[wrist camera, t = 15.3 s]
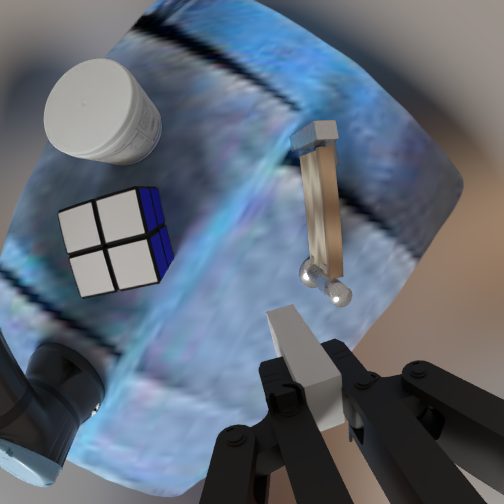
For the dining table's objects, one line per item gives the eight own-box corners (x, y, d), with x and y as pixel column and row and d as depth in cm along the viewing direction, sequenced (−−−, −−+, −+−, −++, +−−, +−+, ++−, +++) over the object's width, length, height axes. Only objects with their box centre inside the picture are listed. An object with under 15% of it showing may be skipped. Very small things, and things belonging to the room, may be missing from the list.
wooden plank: (319, 259, 39) (343, 276, 31) (308, 261, 39) (330, 278, 31) (309, 154, 36) (332, 146, 28) (298, 155, 36) (318, 146, 28)
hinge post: (300, 289, 40) (325, 319, 31) (297, 259, 39) (322, 282, 30) (329, 283, 41) (360, 310, 31) (327, 254, 40) (359, 274, 30)
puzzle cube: (175, 260, 37) (161, 283, 28) (109, 274, 37) (80, 300, 27) (157, 185, 35) (137, 184, 25) (91, 205, 34) (55, 211, 25)
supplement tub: (87, 126, 32) (29, 100, 18) (143, 85, 32) (108, 36, 17) (118, 181, 34) (64, 178, 20) (177, 139, 34) (153, 109, 20)
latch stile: (294, 170, 37) (320, 165, 27) (289, 137, 36) (313, 120, 26) (317, 168, 37) (350, 162, 27) (312, 135, 36) (343, 120, 26)
